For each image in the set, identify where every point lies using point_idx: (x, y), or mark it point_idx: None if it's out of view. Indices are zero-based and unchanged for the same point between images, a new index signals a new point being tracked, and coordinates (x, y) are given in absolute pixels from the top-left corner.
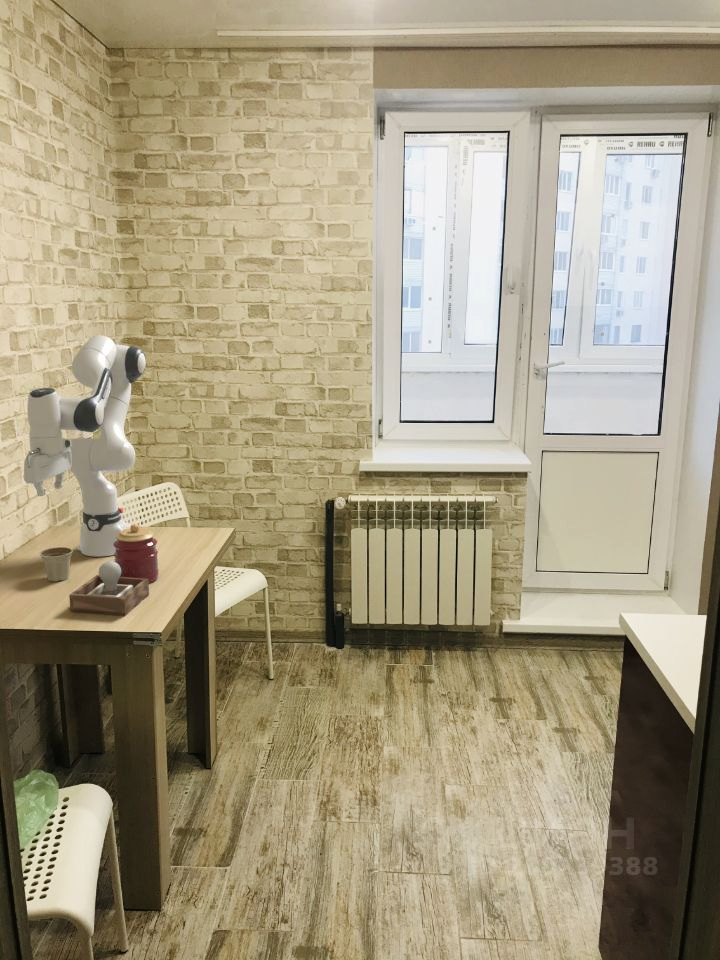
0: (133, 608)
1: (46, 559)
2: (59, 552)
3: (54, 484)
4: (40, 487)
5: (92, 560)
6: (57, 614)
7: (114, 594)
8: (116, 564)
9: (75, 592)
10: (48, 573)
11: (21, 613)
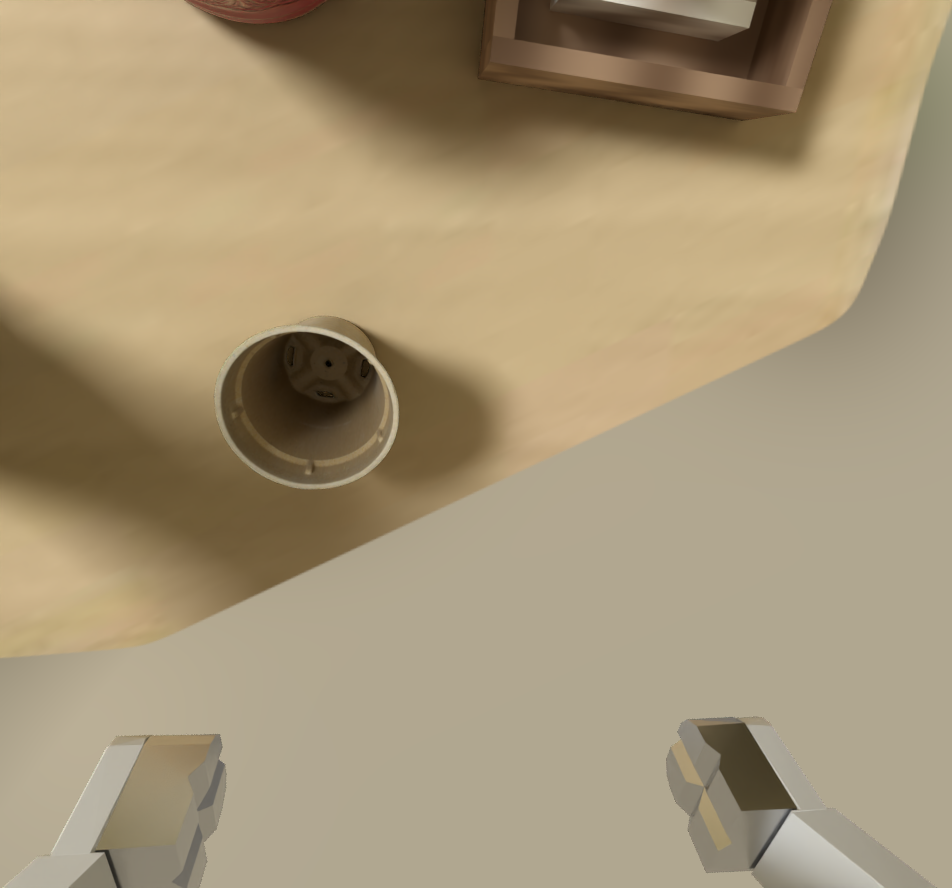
0: None
1: (388, 425)
2: (240, 419)
3: (201, 869)
4: (918, 886)
5: (25, 305)
6: (760, 173)
7: None
8: None
9: (766, 88)
10: (374, 397)
11: (726, 331)
